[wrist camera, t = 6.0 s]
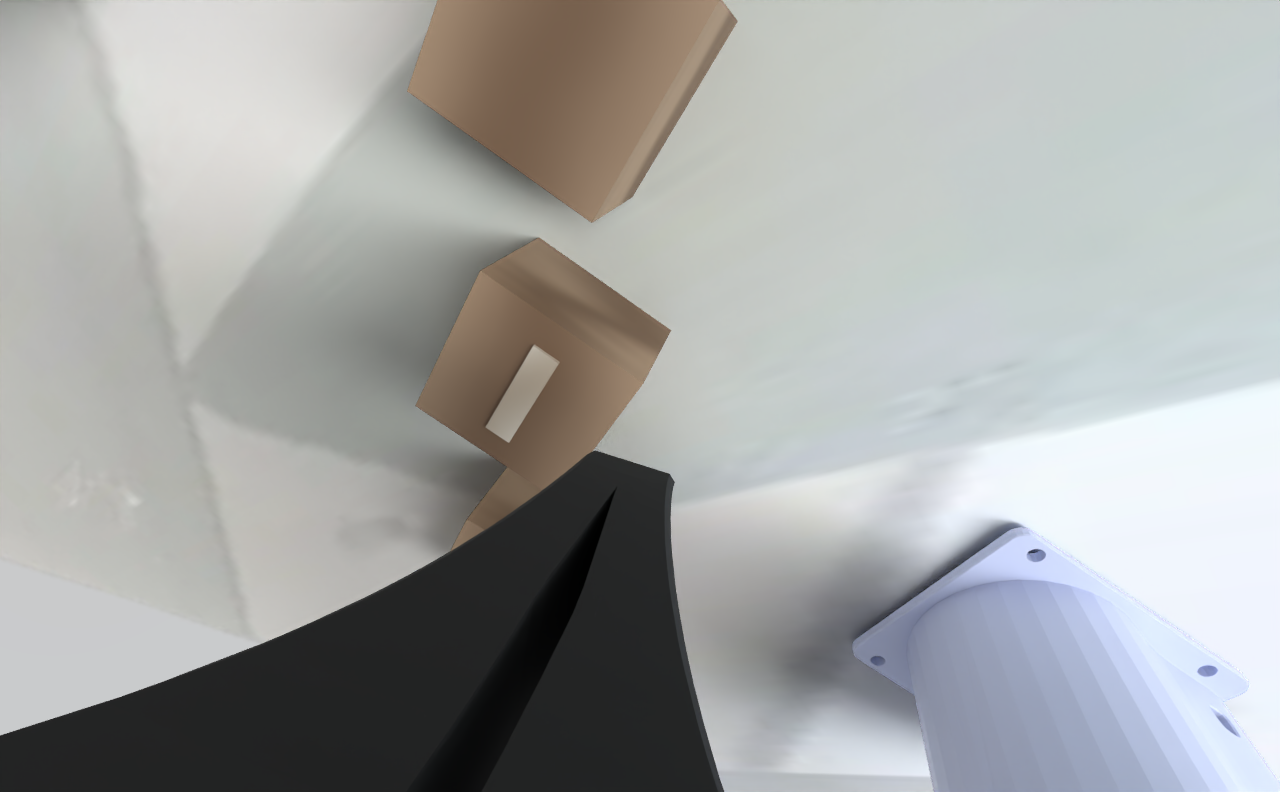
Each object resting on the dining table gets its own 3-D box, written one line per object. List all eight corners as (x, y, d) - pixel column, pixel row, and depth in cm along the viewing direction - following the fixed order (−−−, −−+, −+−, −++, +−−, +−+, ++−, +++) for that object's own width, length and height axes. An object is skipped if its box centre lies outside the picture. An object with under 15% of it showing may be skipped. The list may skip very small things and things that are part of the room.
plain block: (738, 22, 14) (720, -2, 11) (633, 196, 17) (591, 222, 13) (570, -107, 14) (496, -174, 10) (488, 91, 16) (407, 91, 13)
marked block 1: (671, 329, 18) (642, 385, 15) (593, 435, 21) (552, 504, 17) (540, 236, 18) (478, 271, 14) (477, 356, 21) (411, 410, 17)
